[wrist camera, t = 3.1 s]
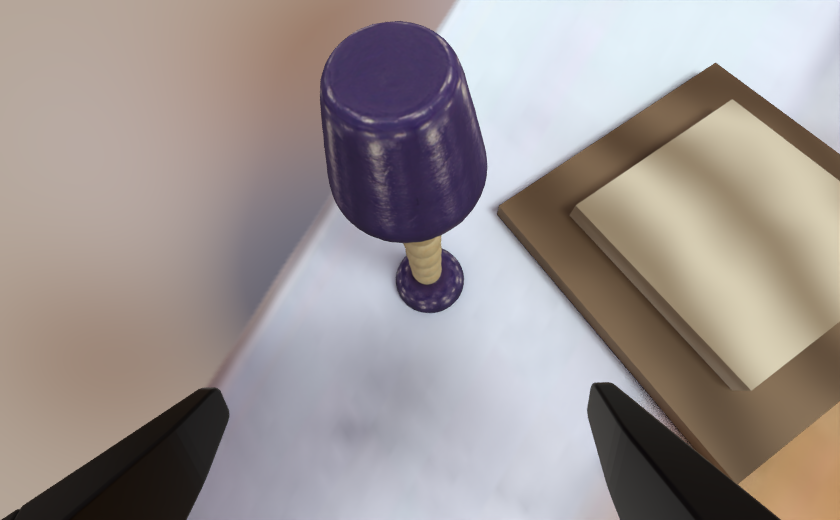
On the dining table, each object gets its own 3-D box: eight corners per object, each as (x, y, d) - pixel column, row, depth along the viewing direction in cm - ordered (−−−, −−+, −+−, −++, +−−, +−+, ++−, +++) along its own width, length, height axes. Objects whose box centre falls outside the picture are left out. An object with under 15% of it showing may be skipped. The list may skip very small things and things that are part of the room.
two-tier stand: (720, 478, 18) (758, 492, 16) (497, 214, 24) (501, 195, 22) (968, 278, 20) (1036, 263, 18) (704, 76, 26) (728, 45, 23)
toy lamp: (471, 247, 24) (493, -27, 8) (474, 320, 22) (507, 159, 6) (398, 249, 24) (280, -7, 8) (395, 320, 23) (245, 171, 7)
